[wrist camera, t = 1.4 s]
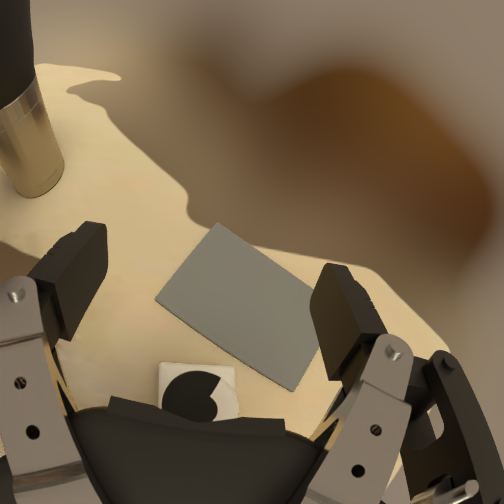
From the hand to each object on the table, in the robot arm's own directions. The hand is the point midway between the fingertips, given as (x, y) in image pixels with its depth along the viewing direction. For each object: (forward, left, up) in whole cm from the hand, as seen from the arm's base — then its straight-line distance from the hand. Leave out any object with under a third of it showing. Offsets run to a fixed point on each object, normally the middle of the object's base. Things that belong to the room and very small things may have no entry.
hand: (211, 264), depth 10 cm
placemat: (+4, +8, -24) cm, 26 cm away
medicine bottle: (+4, -5, -25) cm, 26 cm away
